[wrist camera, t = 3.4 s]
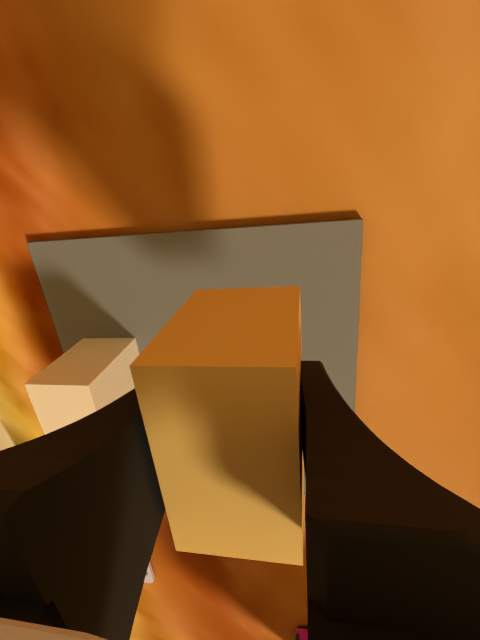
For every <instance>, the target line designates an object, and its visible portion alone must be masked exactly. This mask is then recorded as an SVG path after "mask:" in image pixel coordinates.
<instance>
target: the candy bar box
mask: <svg viewBox="0 0 480 640" xmlns="http://www.w3.org/2000/svg"><path fill="white" fill-rule="evenodd" d="M296 640H308V629H306V628H296Z"/></svg>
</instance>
